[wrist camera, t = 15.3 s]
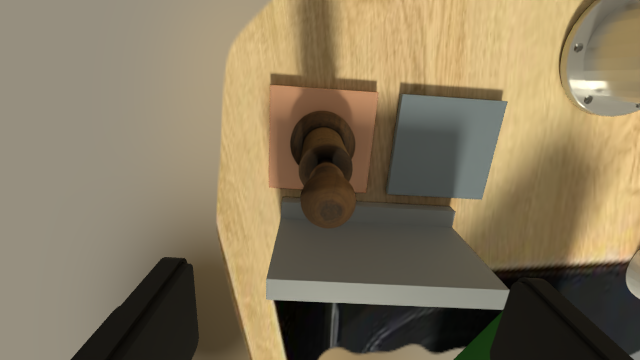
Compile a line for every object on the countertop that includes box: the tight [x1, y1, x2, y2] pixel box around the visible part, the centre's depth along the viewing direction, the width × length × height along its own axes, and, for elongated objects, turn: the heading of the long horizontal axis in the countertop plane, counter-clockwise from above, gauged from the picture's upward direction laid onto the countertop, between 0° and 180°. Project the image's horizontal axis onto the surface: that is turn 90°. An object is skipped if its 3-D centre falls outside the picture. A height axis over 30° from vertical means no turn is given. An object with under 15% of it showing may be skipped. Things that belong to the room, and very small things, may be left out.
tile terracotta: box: [269, 85, 378, 193], centre depth 33 cm, size 11×11×1 cm
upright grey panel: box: [266, 197, 510, 310], centre depth 31 cm, size 20×6×12 cm, turn 86°
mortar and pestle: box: [290, 111, 356, 229], centre depth 23 cm, size 7×6×18 cm
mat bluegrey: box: [386, 94, 507, 199], centre depth 33 cm, size 11×11×1 cm
